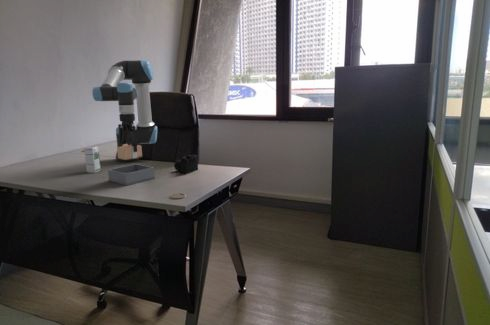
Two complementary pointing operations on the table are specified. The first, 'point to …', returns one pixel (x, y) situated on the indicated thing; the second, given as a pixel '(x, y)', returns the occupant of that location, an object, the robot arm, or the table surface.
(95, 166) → the syrup box
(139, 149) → the small crate
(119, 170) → the large crate
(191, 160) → the camera
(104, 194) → the table surface
